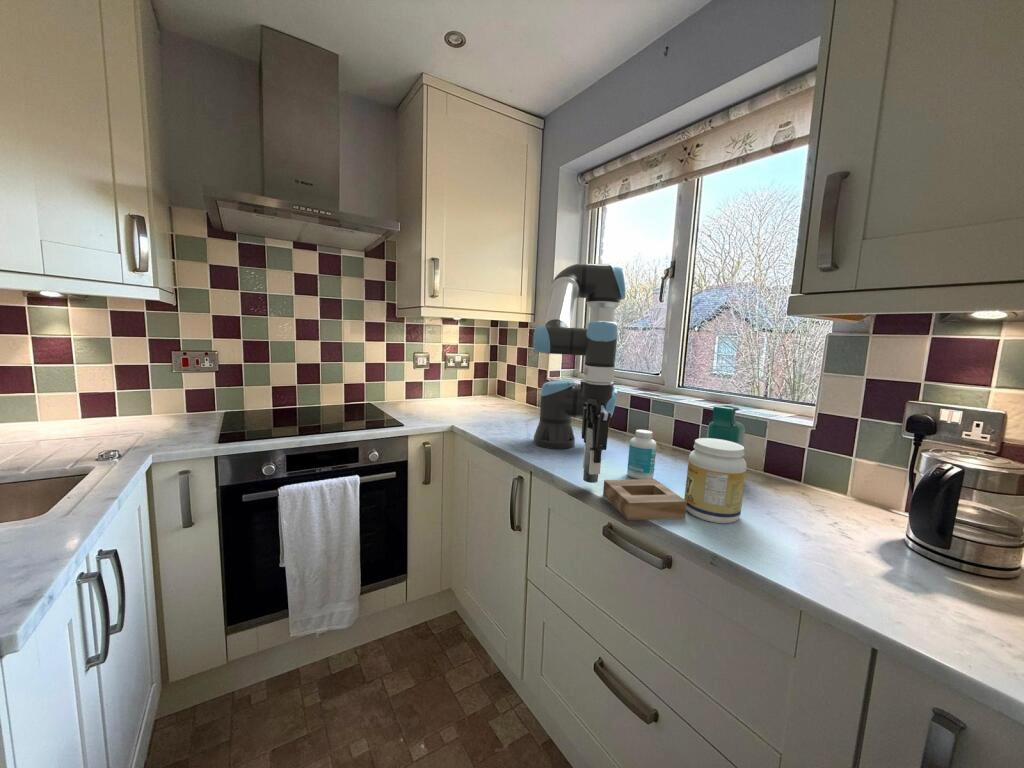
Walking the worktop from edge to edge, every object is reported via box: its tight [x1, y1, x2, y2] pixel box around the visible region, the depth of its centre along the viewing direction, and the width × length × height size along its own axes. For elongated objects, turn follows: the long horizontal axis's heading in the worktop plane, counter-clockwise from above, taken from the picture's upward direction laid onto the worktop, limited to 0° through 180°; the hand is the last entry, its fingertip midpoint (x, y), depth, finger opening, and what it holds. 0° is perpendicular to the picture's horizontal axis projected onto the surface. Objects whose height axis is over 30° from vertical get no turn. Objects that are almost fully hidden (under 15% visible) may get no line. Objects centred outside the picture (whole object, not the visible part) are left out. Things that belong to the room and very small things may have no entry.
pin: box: [582, 427, 599, 484], centre depth 107 cm, size 4×4×14 cm
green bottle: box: [706, 405, 746, 447], centre depth 121 cm, size 10×8×22 cm
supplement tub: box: [683, 437, 748, 524], centre depth 96 cm, size 12×12×17 cm
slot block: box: [602, 478, 687, 521], centre depth 99 cm, size 14×14×4 cm
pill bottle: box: [626, 429, 657, 480], centre depth 120 cm, size 8×7×14 cm
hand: (591, 470), depth 108 cm, fingers closed on pin, 4 cm apart
